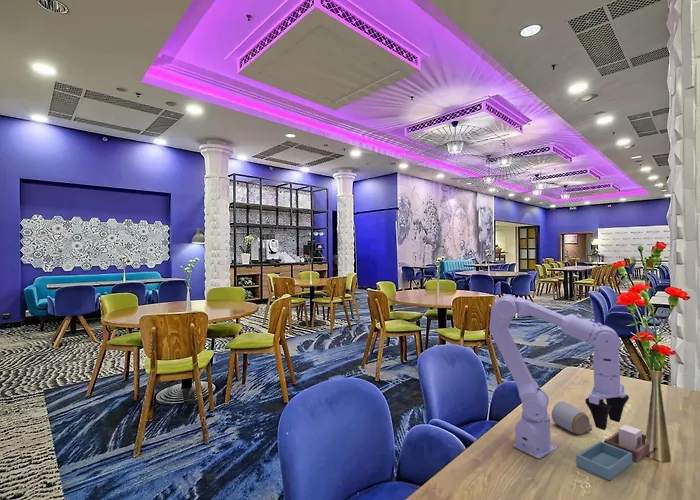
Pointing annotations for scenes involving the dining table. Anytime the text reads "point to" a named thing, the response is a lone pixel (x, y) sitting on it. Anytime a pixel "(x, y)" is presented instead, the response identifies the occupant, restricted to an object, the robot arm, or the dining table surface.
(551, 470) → the dining table surface
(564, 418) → the ceramic mug
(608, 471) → the teal tray
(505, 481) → the dining table surface
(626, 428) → the letter block
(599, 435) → the dining table surface
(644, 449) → the walnut tray
